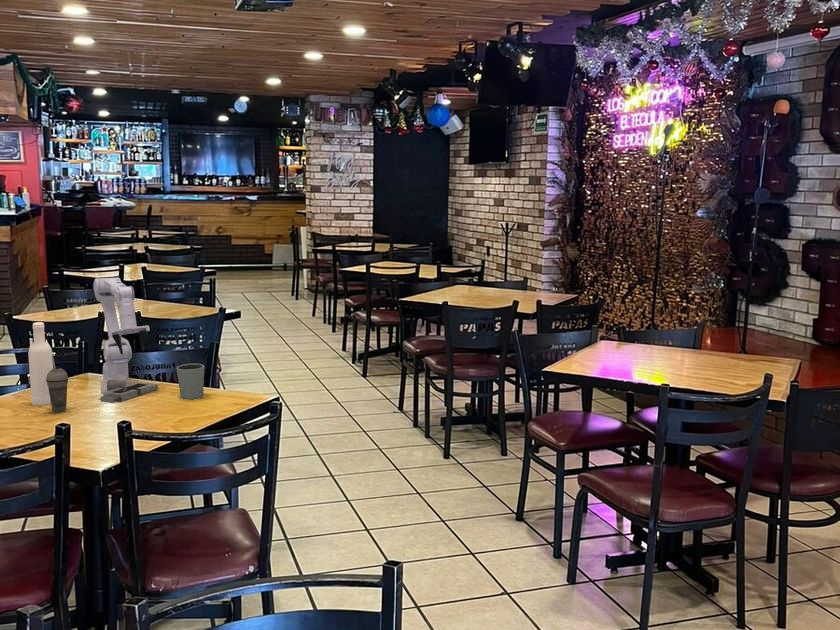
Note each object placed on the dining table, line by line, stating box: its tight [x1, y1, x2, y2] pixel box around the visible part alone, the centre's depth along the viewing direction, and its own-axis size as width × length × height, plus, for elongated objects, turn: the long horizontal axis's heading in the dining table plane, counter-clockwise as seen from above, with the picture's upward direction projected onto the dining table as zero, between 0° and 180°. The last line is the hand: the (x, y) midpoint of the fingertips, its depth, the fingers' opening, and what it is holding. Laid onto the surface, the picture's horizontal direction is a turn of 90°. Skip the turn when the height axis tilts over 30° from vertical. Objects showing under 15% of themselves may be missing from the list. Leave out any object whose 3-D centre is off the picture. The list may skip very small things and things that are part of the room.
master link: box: [99, 375, 127, 395], centre depth 310 cm, size 3×10×6 cm, turn 157°
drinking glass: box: [175, 363, 205, 401], centre depth 303 cm, size 10×10×12 cm
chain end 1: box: [99, 388, 138, 404], centre depth 299 cm, size 9×11×2 cm
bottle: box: [27, 321, 54, 406], centre depth 291 cm, size 8×8×30 cm
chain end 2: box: [123, 381, 159, 396], centre depth 311 cm, size 9×11×2 cm
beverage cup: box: [46, 355, 69, 414], centre depth 282 cm, size 7×7×20 cm
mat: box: [97, 388, 160, 403], centre depth 306 cm, size 11×21×1 cm, turn 157°
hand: (132, 352), depth 304 cm, fingers open, 7 cm apart
